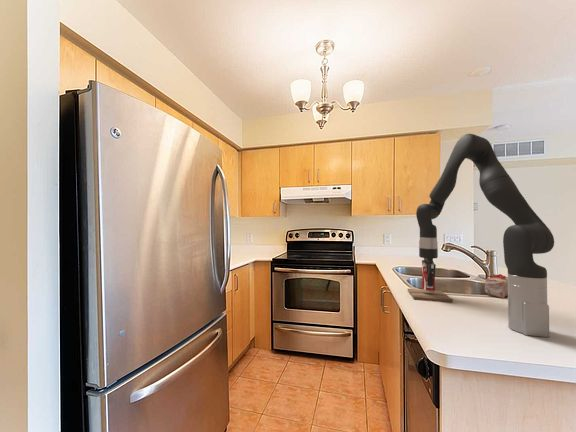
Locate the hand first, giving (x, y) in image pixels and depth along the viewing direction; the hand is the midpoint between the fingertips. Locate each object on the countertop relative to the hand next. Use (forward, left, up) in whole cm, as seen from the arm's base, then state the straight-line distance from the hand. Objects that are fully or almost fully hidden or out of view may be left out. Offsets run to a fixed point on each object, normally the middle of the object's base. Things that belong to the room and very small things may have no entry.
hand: (428, 284), depth 121 cm
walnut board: (0, 0, -5) cm, 5 cm away
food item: (+11, -32, -6) cm, 35 cm away
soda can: (0, 0, -3) cm, 3 cm away
